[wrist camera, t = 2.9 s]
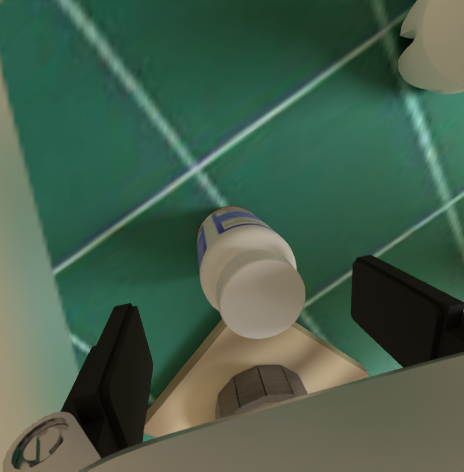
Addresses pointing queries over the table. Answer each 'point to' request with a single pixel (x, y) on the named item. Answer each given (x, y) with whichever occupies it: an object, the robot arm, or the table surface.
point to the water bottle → (434, 46)
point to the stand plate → (238, 360)
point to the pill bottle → (248, 273)
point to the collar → (258, 389)
